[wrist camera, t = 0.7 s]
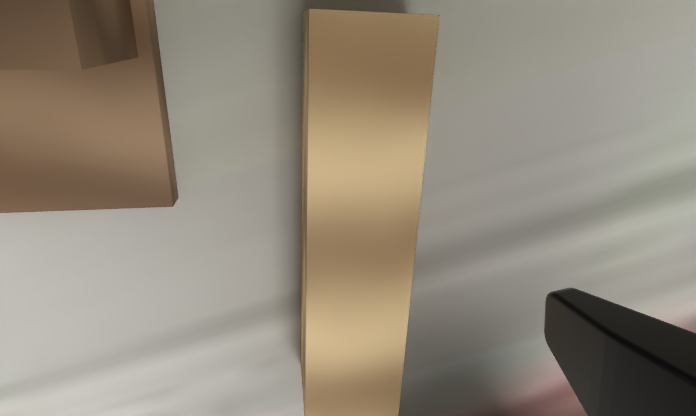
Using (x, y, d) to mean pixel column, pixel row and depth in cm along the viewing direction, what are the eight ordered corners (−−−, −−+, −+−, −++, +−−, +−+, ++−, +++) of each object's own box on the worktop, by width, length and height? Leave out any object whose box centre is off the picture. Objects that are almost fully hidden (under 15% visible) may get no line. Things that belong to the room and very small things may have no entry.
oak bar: (379, 356, 24) (398, 417, 20) (300, 360, 23) (305, 424, 19) (406, 17, 18) (439, 14, 14) (302, 12, 17) (309, 8, 14)
